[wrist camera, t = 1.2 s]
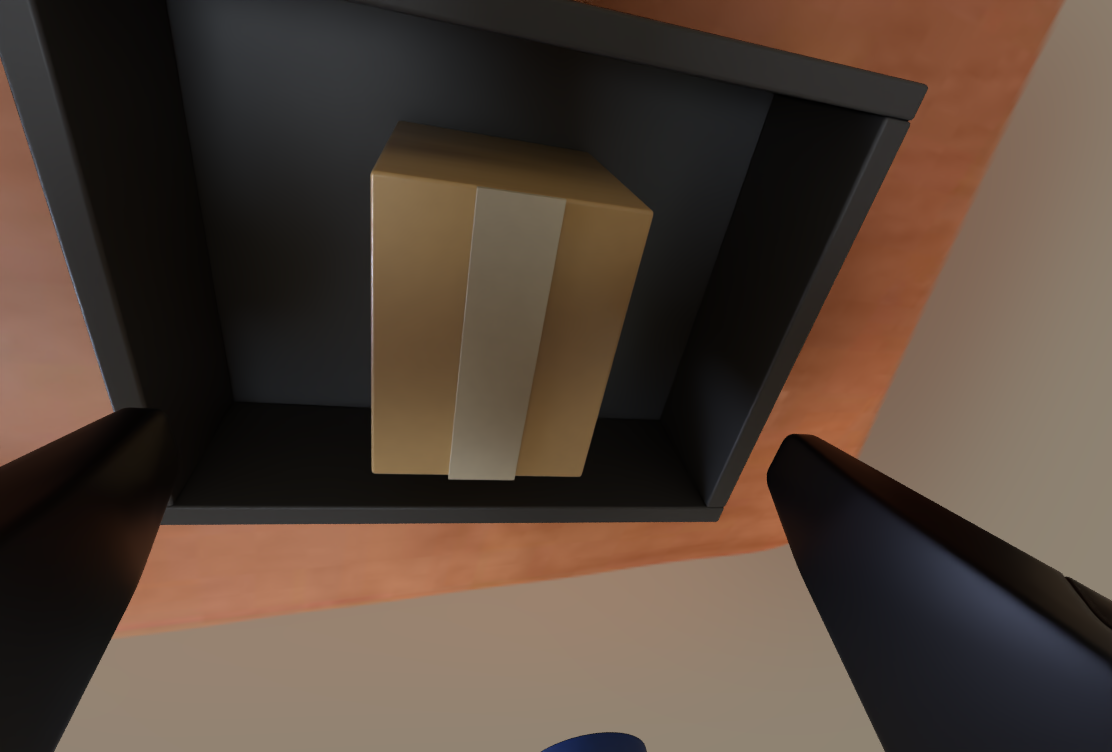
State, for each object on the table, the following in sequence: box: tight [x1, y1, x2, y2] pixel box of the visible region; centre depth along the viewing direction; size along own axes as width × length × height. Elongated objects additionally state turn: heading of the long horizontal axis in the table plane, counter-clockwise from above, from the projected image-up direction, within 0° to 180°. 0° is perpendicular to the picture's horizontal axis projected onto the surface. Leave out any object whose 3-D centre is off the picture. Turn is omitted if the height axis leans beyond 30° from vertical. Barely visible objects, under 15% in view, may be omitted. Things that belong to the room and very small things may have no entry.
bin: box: [0, 0, 928, 525], centre depth 12 cm, size 11×14×4 cm
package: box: [370, 121, 653, 480], centre depth 12 cm, size 6×4×5 cm
